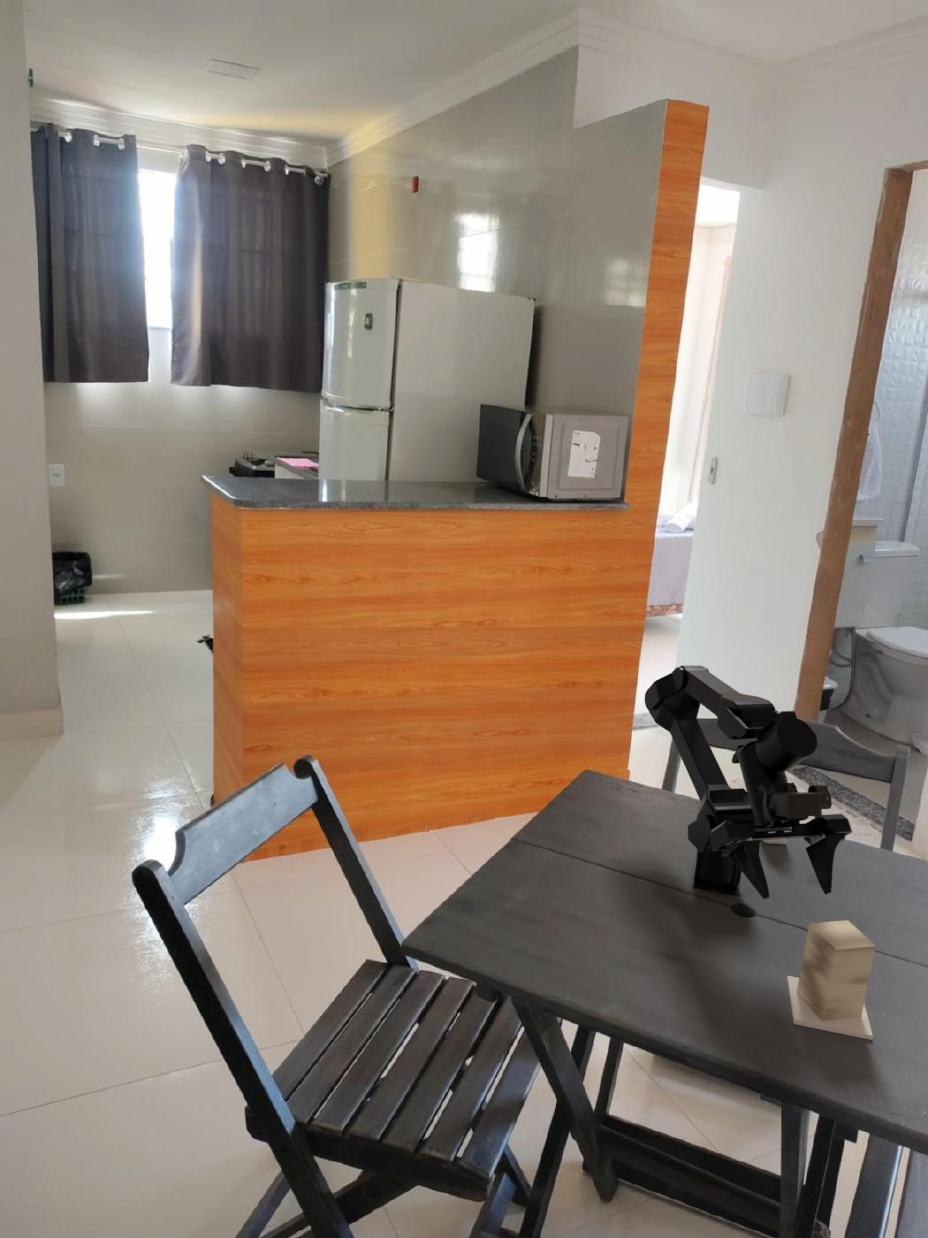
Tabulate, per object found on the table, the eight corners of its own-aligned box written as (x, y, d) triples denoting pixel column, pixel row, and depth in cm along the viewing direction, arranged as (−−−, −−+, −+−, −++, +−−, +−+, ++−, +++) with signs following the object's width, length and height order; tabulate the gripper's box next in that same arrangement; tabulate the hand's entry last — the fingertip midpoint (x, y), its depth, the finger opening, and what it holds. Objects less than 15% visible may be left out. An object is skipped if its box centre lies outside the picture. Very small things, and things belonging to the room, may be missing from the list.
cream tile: (793, 1024, 114) (794, 1019, 114) (787, 979, 123) (787, 975, 122) (872, 1040, 112) (872, 1036, 112) (859, 994, 121) (860, 990, 121)
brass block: (796, 992, 119) (809, 923, 117) (834, 988, 120) (847, 920, 118) (822, 1021, 114) (835, 950, 111) (861, 1017, 115) (875, 946, 113)
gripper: (732, 765, 122) (763, 885, 115) (856, 760, 127) (894, 876, 119) (696, 793, 132) (723, 906, 124) (813, 788, 136) (846, 896, 129)
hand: (797, 896), depth 124 cm, fingers open, 9 cm apart
